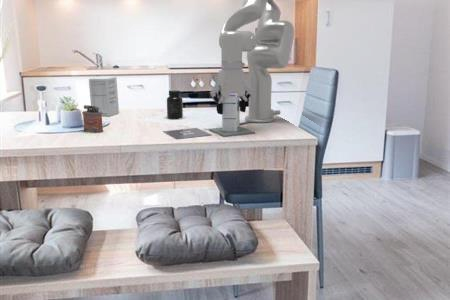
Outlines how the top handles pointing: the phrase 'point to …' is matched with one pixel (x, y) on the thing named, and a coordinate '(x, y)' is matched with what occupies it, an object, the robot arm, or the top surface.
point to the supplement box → (104, 95)
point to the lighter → (92, 119)
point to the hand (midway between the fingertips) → (231, 112)
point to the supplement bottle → (174, 105)
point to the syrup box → (231, 113)
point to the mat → (225, 134)
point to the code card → (187, 133)
